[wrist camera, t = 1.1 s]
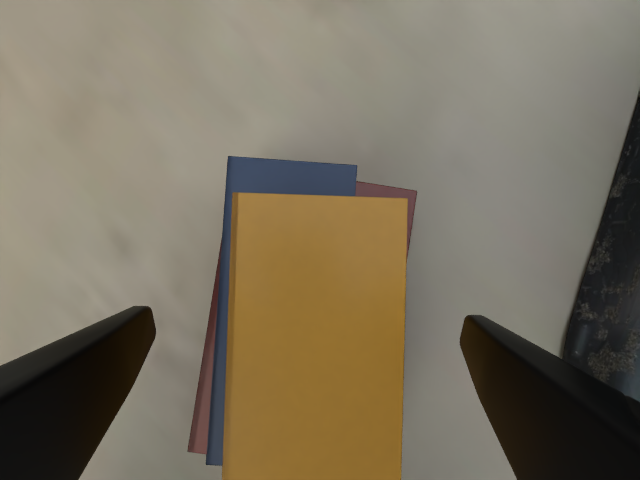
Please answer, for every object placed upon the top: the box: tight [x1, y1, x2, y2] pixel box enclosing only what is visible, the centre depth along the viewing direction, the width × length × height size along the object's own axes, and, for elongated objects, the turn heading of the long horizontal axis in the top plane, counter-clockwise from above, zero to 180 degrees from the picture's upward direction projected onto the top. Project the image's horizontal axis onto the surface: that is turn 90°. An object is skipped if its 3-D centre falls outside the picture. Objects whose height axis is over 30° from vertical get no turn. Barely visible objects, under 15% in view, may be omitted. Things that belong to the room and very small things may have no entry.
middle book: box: [206, 156, 357, 466], centre depth 17 cm, size 15×6×3 cm, turn 176°
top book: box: [222, 192, 408, 480], centre depth 14 cm, size 13×7×3 cm, turn 178°
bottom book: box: [188, 181, 417, 454], centre depth 20 cm, size 17×11×3 cm, turn 171°
